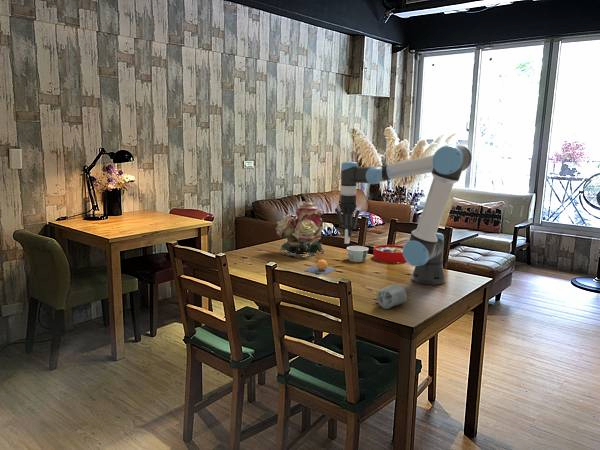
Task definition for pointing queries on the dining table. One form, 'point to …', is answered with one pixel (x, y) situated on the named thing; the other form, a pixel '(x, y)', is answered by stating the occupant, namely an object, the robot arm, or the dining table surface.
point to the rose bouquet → (302, 230)
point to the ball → (321, 265)
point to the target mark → (316, 270)
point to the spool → (391, 296)
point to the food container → (357, 253)
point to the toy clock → (389, 253)
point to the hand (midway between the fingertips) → (347, 243)
